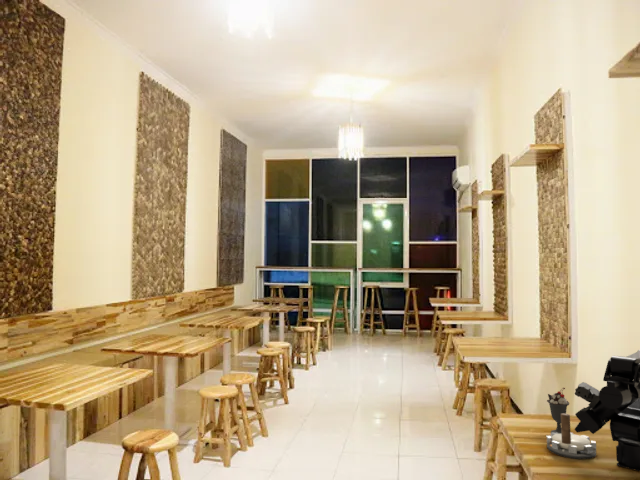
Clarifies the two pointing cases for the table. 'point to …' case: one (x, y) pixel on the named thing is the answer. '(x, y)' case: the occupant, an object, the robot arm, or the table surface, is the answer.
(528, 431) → the table surface
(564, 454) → the dial plate
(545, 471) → the table surface
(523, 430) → the table surface
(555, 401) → the sundae
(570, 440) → the dial
